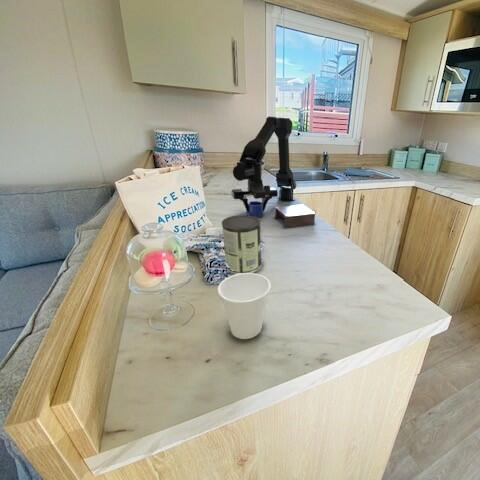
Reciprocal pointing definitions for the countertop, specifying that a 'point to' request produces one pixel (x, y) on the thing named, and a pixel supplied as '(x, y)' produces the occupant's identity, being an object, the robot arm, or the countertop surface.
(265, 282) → the cup
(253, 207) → the ramekin
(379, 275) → the countertop surface
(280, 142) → the robot arm
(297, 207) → the white-topped brown block
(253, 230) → the coffee can
